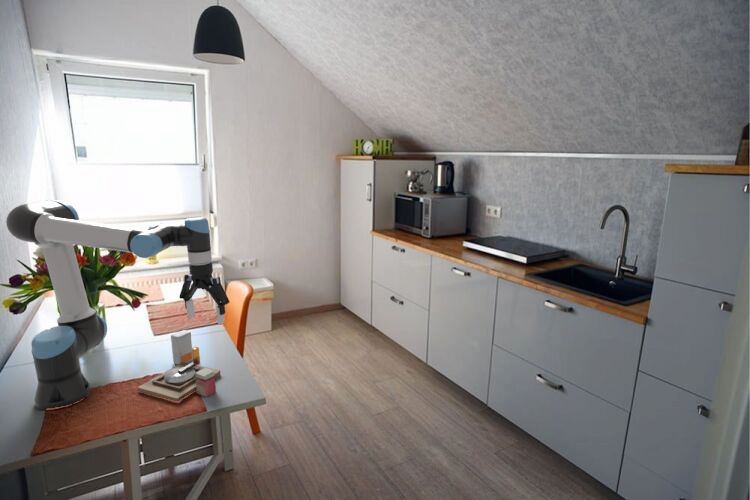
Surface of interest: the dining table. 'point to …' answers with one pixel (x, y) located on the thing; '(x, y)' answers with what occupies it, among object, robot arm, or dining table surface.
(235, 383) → the dining table surface
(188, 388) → the beige square board
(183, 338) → the skincare box
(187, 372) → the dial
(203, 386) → the small box
